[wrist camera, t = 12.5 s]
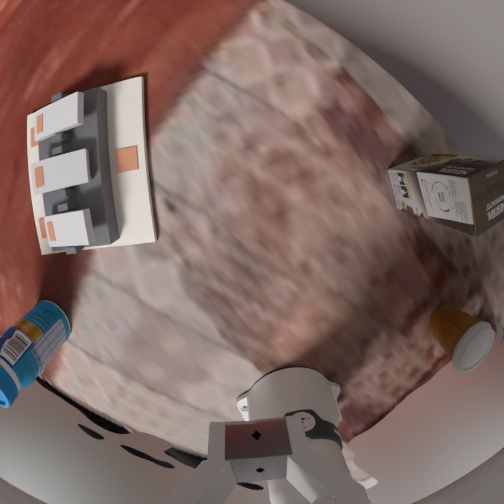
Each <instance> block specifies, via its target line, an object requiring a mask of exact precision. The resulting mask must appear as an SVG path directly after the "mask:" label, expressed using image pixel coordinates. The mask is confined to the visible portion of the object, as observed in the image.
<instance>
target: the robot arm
mask: <svg viewBox="0 0 504 504" xmlns="http://www.w3.org/2000/svg"><path fill="white" fill-rule="evenodd" d="M340 391H341V389H340V386H339V385H338V384H337V383H334V382H330V381H328V380H327V379H326V378H325V377H324V376H323V375H322V374H321V373H319V372H317V371H315V370H313V369H309V368H301V367H294V368H286V369H282V370H278V371H275V372H273V373H270V374H268V375H266V376H265V377H263V378H262V379H260V380H259V381H258V382H257V383H256V384H255V385H254V386H253V387H252V389H251V390H250V391H249V392H247V393H245V394H243V395H241V396H240V397H238V398H237V399H236V402H237V406H238V408H239V410H240V412H241V414H242V416H243V418H244V420H245V421H234V422H211V423H210V426H209V442H208V459H207V461H202V462H201V463H200V465H199V466H198V467H197V468H196V469H195V470H194V471H193V472H192V473H191V474H190V476H189V477H188V478H187V479H186V480H185V481H184V482H183V483H182V484H181V485H180V486H179V487H178V488H177V489H176V490H175V491H174V492H173V493H172V494H171V495H170V496H169V497H168V498H167V500H165V501H164V502H163V503H162V504H224V502H225V500H226V499H227V498H228V496H229V495H230V493H231V492H232V491H233V489H234V488H235V486H236V485H237V483H238V482H251V481H262V480H268V487H269V495H270V501H271V503H272V504H374V503H373V502H372V501H371V500H369V499H368V497H367V494H366V491H365V488H364V486H362V485H361V484H359V483H358V482H356V481H355V480H353V478H352V476H351V473H350V471H349V469H348V467H347V464H346V462H345V459H344V456H343V454H342V451H341V450H342V442H341V441H342V440H341V436H340V434H339V432H338V430H337V427H338V426H339V424H340V421H341V420H342V416H341V413H340V409H339V406H338V403H337V398H338V396H339V393H340ZM0 504H47V503H46V502H43V501H42V500H39V499H37V498H35V497H33V496H32V495H29V494H28V493H26V492H24V491H22V490H20V489H19V488H17V487H15V486H13V485H12V484H10V483H8V482H7V481H5V480H4V479H2V478H0ZM412 504H504V448H502V449H501V450H500V451H499V452H497V453H496V454H495V455H493V456H492V457H491V458H489V459H488V460H486V461H485V462H484V463H482V464H481V465H480V466H478V467H476V468H475V469H473V470H472V471H471V472H469V473H467V474H466V475H464V476H463V477H461V478H460V479H458V480H456V481H454V482H453V483H451V484H449V485H448V486H446V487H444V488H442V489H440V490H438V491H437V492H435V493H433V494H431V495H429V496H427V497H425V498H423V499H421V500H419V501H417V502H414V503H412Z"/></svg>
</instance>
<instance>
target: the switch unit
mask: <svg viewBox="0 0 504 504" xmlns="http://www.w3.org/2000/svg"><path fill="white" fill-rule="evenodd" d="M82 93H84V107H83V112H84V124H82V125H79V126H77V127H74V128H71V129H69V130H66V131H64V132H61V133H59V134H56V135H54V136H51V137H49V138H47V139H45V140H42V141H35V113H33V114H30V115H28V116H27V147H28V166H29V179H30V188H31V197H32V204H33V211H34V217H35V223H36V228H37V234H38V238H39V243H40V248H41V252H42V255H44V254H52V253H60V252H66V254H75V253H77V252H79V251H81V250H85V249H94V248H103V247H112V246H121V245H130V244H140V243H150V242H156V241H157V234H156V228H155V221H154V213H153V206H152V198H151V189H150V180H149V170H148V158H147V146H146V130H145V108H144V78H143V77H142V76H140V77H136V78H132V79H128V80H124V81H120V82H116V83H113V84H109V85H106V86H103V87H100V88H99V87H95V88H92V89H89V90H86V91H83V92H82ZM66 96H69V95H68V94H65V93H62V92H61V93H59V94H56V95H54V96H52V102H53V103H54V102H56V101H58V100H60V99H62V98H64V97H66ZM49 105H50V104H49ZM47 106H48V105H47ZM45 107H46V106H45ZM43 108H44V107H43ZM40 109H42V108H40ZM40 109H38V110H40ZM82 149H88V151H89V164H90V175H91V182H88V183H83V184H79V185H74V186H70V187H66V188H62V189H58V190H54V191H50V192H46V193H42V194H39V195H34V193H33V184H32V174H31V164H32V163H35V162H38V161H41V160H45V159H48V158H51V157H55V156H58V155H62V154H66V153H70V152H74V151H78V150H82ZM88 208H89V209H90V215H91V221H92V227H93V233H94V238H95V242H94V243H92V244H90V245H78V246H59V247H49V243H48V238H47V233H46V228H45V222H44V217H45V216H48V215H53V214H58V213H64V212H70V211H75V210H82V209H88Z"/></svg>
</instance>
